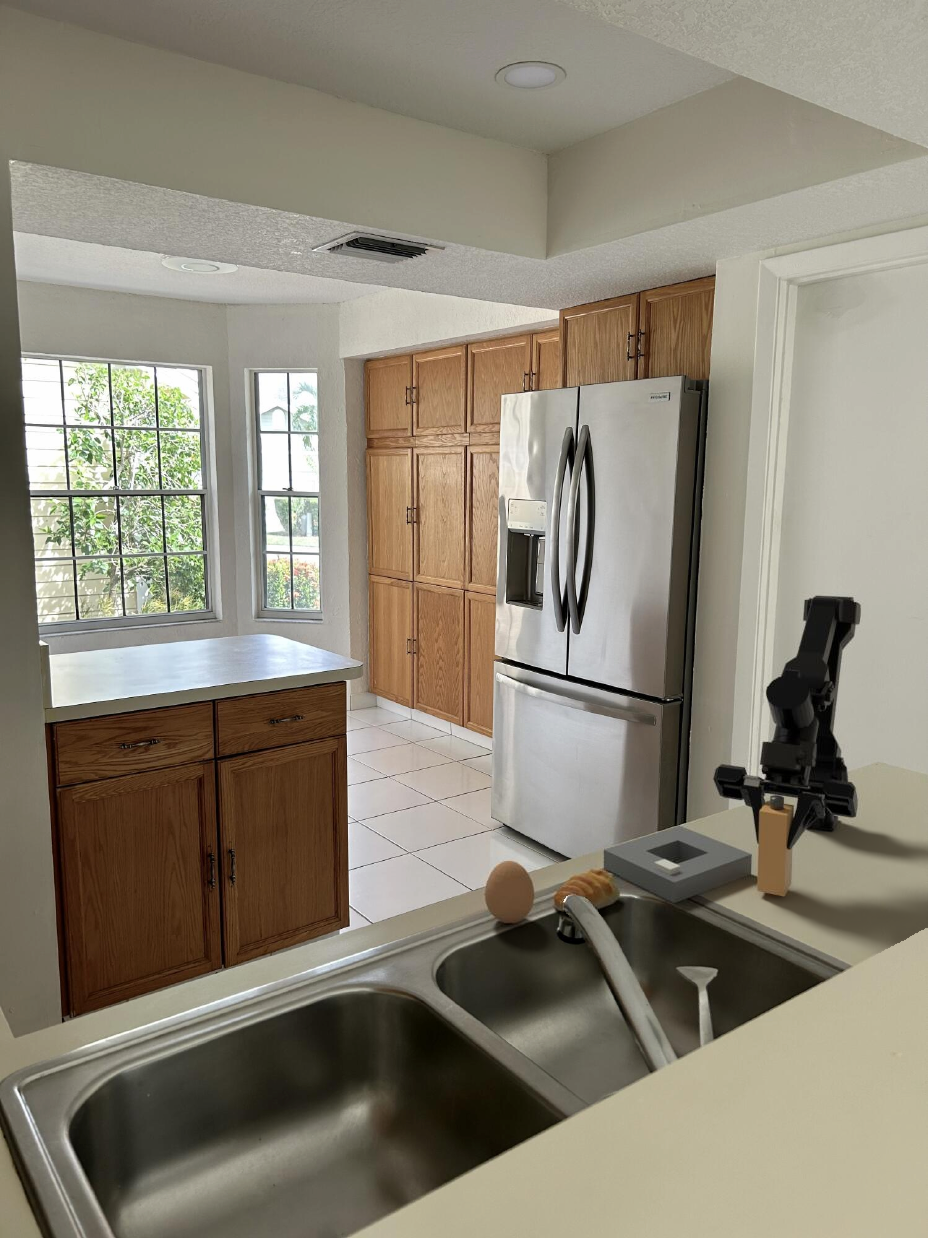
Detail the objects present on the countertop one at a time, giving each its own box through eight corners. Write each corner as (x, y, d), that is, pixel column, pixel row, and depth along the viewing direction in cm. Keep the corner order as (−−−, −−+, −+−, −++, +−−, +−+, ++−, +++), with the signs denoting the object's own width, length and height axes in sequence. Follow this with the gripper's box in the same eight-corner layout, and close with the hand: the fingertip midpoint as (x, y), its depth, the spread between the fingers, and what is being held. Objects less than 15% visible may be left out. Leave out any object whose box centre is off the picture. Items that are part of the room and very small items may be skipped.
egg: (524, 907, 123) (524, 849, 122) (541, 929, 117) (541, 868, 116) (479, 914, 122) (478, 855, 120) (494, 937, 115) (493, 875, 114)
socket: (679, 843, 144) (679, 820, 143) (751, 873, 132) (751, 849, 132) (603, 868, 135) (603, 844, 135) (674, 903, 124) (674, 876, 123)
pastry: (577, 923, 119) (577, 896, 118) (540, 907, 124) (540, 880, 124) (623, 901, 125) (623, 875, 124) (586, 886, 130) (586, 860, 130)
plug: (764, 878, 129) (767, 790, 127) (791, 884, 127) (794, 794, 125) (757, 891, 125) (759, 800, 123) (784, 896, 123) (787, 804, 121)
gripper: (718, 709, 131) (693, 807, 123) (858, 725, 121) (841, 832, 113) (731, 748, 138) (709, 842, 131) (864, 765, 129) (848, 868, 121)
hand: (773, 845), depth 124 cm, fingers closed on plug, 4 cm apart
